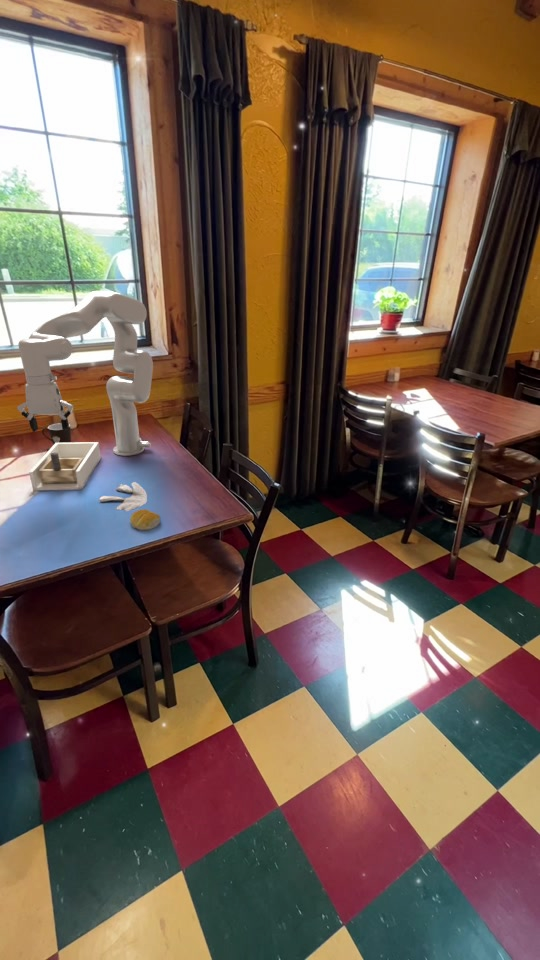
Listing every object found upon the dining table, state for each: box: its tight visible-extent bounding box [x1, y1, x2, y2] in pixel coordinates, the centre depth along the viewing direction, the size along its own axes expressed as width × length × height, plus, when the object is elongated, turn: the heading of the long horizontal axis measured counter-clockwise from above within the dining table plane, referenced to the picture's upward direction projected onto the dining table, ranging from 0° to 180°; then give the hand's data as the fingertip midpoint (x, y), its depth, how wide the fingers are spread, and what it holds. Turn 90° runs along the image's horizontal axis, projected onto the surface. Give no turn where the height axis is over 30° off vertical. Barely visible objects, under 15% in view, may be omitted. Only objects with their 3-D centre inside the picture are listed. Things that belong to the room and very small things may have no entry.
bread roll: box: [129, 509, 161, 531], centre depth 136 cm, size 8×9×4 cm
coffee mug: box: [41, 422, 72, 446], centre depth 187 cm, size 12×9×10 cm
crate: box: [39, 453, 84, 484], centre depth 158 cm, size 12×12×11 cm
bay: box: [28, 441, 102, 491], centre depth 165 cm, size 16×28×7 cm, turn 6°
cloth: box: [99, 481, 148, 512], centre depth 152 cm, size 20×22×2 cm
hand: (50, 430), depth 148 cm, fingers open, 9 cm apart
